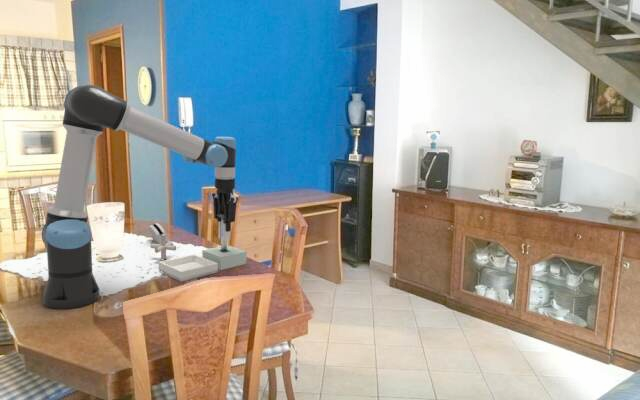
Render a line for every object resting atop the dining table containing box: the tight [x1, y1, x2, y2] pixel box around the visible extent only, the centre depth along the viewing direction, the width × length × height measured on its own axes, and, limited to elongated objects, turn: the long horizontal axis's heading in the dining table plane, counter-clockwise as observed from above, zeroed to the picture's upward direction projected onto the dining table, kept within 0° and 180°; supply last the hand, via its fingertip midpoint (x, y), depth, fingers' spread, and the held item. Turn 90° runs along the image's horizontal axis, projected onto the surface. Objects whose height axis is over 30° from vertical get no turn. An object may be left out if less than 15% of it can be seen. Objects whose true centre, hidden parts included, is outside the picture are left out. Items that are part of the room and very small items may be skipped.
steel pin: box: [219, 213, 228, 253], centre depth 182 cm, size 4×4×16 cm
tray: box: [158, 254, 219, 283], centre depth 172 cm, size 15×15×4 cm
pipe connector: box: [150, 233, 177, 260], centre depth 184 cm, size 10×10×10 cm
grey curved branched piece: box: [148, 222, 175, 246], centre depth 207 cm, size 17×5×10 cm, turn 33°
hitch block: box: [201, 244, 247, 271], centre depth 183 cm, size 12×12×5 cm
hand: (224, 238), depth 182 cm, fingers closed on steel pin, 2 cm apart
